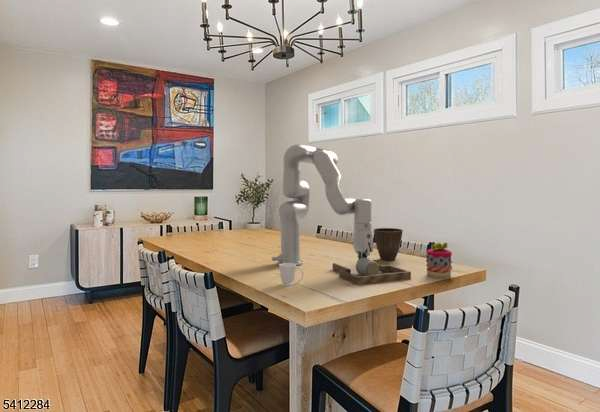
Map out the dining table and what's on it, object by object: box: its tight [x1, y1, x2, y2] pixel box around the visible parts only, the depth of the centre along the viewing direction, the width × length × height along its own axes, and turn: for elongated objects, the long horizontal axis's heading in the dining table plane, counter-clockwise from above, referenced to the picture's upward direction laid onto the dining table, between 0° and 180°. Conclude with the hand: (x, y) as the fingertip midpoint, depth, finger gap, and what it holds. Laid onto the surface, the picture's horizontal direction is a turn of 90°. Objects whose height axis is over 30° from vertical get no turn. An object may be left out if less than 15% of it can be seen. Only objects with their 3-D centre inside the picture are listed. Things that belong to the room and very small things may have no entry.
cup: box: [278, 263, 304, 287], centre depth 157 cm, size 7×10×8 cm
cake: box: [425, 242, 453, 279], centre depth 171 cm, size 10×11×15 cm
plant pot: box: [373, 227, 403, 262], centre depth 208 cm, size 15×15×16 cm
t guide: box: [332, 262, 412, 286], centre depth 174 cm, size 26×29×3 cm
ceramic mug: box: [355, 257, 383, 276], centre depth 171 cm, size 11×8×8 cm
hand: (362, 266), depth 177 cm, fingers closed
